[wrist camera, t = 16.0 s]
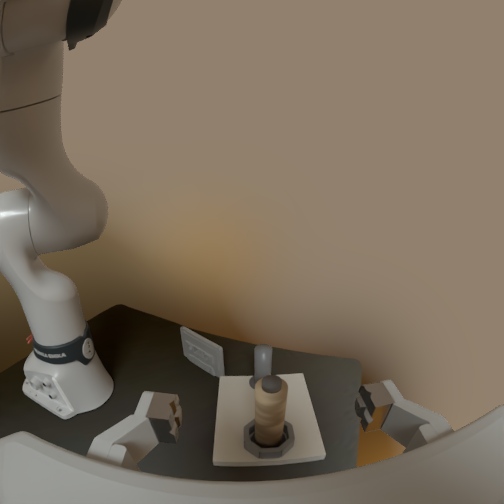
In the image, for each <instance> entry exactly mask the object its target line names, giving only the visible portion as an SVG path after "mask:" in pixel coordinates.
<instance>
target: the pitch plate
mask: <svg viewBox="0 0 504 504" xmlns="http://www.w3.org/2000/svg"><path fill="white" fill-rule="evenodd" d="M271 364H272V347H271V346H269V345H267V344H260V345H257V346H256V347H255V349H254V376H220V382H219V393H218V404H217V415H216V426H215V438H214V450H213V465H214V466H267V465H282V464H293V463H301V462H309V461H316V460H322V459H324V458H325V456H326V453H325V449H324V445H323V442H322V438H321V435H320V431H319V428H318V424H317V421H316V417H315V413H314V410H313V407H312V403H311V400H310V396H309V393H308V389H307V386H306V382H305V379H304V375H303V373H299V374H285V375H276V376H279V377H280V378H281V379H283V380H284V381H285V382H286V383H287V384H288V393H287V403H286V411H285V420H284V428H283V436H282V442H281V444H280V446H279V447H276V448H261V447H259V446H258V445H256V443H255V384H256V383H257V381H258V380H260V379H262V378H263V377H265V376H267V375H271Z"/></svg>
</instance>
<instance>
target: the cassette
mask: <svg viewBox="0 0 504 504" xmlns="http://www.w3.org/2000/svg"><path fill="white" fill-rule="evenodd" d="M180 331H181V337H182V344H183V350H184V355H185V356H186V357H187V358H189V359H188V360H190V361H191V362H193V363H194V364H196V365H197V366H199V367H200V368H202V369H203V370H205V371H207V372H208V373H210V374H211V375H213V376H217V377H219V378H220V376H225V373H224V361H223V348H222V347H221V346H219V345H217V344H215V343H213V342H211V341H209V340H208V339H206V338H204V337H202V336H200V335H198V334H197V333H195V332H193V331H191V330H190V329H188V328H186V327H184V326H183V327H181V328H180Z"/></svg>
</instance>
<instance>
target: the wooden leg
mask: <svg viewBox="0 0 504 504" xmlns="http://www.w3.org/2000/svg"><path fill="white" fill-rule="evenodd" d="M287 393H288V384H287V383H286V382H285V381H284V380H283V379H281V378H280V377H279V376H276V375H267V376H265V377H263V378H262V379H260V380H258V381H257V383H256V384H255V443H256V445H258V446H259V447H261V448H276V447H279V446H280V444H281V442H282V436H283V428H284V420H285V411H286V403H287Z"/></svg>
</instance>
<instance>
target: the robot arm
mask: <svg viewBox="0 0 504 504" xmlns="http://www.w3.org/2000/svg"><path fill="white" fill-rule="evenodd" d="M121 1H122V0H0V172H1V173H2V174H4V175H6V176H8V177H11V178H14V179H16V180H18V181H20V182H21V183H23V184H24V185H25V186H26V188H21V189H16V190H12V191H7V192H2V193H0V272H1V273H2V274H3V275H4V276H5V278H6V279H7V280H8V281H9V283H10V284H11V286H12V287H13V289H14V290H15V292H16V294H17V296H18V298H19V300H20V302H21V305H22V307H23V310H24V312H25V315H26V318H27V320H28V323H29V326H30V328H31V331H32V334H31V335H30V336H29V337H28V338H27V339H26V340H28V339H29V338H30V340H29V341H28V344H29V343H30V342H31V341H33V351H32V352H31V354H30V355H29V357H28V358H27V360H26V362H25V364H24V373H25V376H26V380H25V382H24V385H23V392H24V394H26V395H27V396H28V397H30V398H31V399H33V400H34V401H35V402H37V403H38V404H40V405H41V406H43V407H44V408H46V409H48V410H49V411H51V412H52V413H54V414H56V415H57V416H59V417H61V418H62V419H69V418H71V417H73V416H75V415H76V414H79V413H82V412H87V411H90V410H93V409H95V408H97V407H99V406H101V405H102V404H103V403H105V402H106V401H107V400H108V398H109V397H110V396H111V394H112V391H113V387H114V384H113V380H112V378H111V376H110V375H109V374H108V372H107V371H106V369H105V368H104V366H103V364H102V362H101V361H100V359H99V357H98V355H97V353H96V351H95V348H94V343H93V338H92V335H91V332H90V329H89V326H88V323H87V321H86V320H85V319H84V316H83V312H82V308H81V304H80V300H79V296H78V291H77V288H76V286H75V284H74V283H73V281H72V280H71V279H70V278H68V277H67V276H65V275H64V274H62V273H59V272H56V271H53V270H50V269H49V268H47V267H46V266H45V265H44V264H43V263H42V261H41V260H40V258H39V255H40V254H45V253H50V252H57V251H63V250H69V249H74V248H77V247H80V246H82V245H85V244H87V243H90V242H92V241H95V240H97V239H99V237H100V236H101V234H102V233H103V231H104V229H105V226H106V222H107V218H108V206H107V201H106V199H105V196H104V194H103V192H102V190H101V189H100V188H99V186H98V185H97V184H95V183H94V182H93V181H91V180H89V179H87V178H86V177H84V176H83V175H82V174H80V173H79V172H78V171H77V170H76V169H75V168H74V166H73V165H72V164H71V162H70V161H69V159H68V157H67V155H66V153H65V150H64V147H63V143H62V136H61V122H60V121H61V120H60V110H61V92H62V78H63V76H62V75H63V41H65V40H67V42H68V47H69V50H72V49H74V48H75V46H76V44H77V42H79V41H82V40H84V39H86V38H89V37H91V36H92V35H94V34H95V33H96V32H98V31H99V30H100V29H101V28H103V27H104V26H105V25H106V23H107V21H108V19H109V18H110V17H111V16H112V15H113V14H114V12H115V11H116V9H117V8H118V6H119V4H120V3H121ZM359 393H360V395H359V396H358V397H357V398H356V401H355V410H356V414H357V416H358V417H360V418H362V420H361V422H360V423H361V425H362V427H363V430H364V432H369V431H374V430H378V429H381V430H382V431H383V432H385V433H386V434H388V435H389V436H390V437H392V438H393V439H395V440H396V441H397V442H399V443H400V444H402V445H403V446H405V447H406V449H405V450H404V452H403V453H402V454H400V455H398V456H395V457H392V458H388V459H385V460H382V461H379V462H375V463H372V464H368V465H364V466H360V467H356V468H352V469H348V470H343V471H339V472H334V473H329V474H323V475H317V476H310V477H303V478H295V479H285V480H273V481H253V482H225V481H205V480H193V479H183V478H175V477H168V476H161V475H155V474H150V473H145V472H141V471H140V469H139V468H138V466H137V465H136V464H137V463H138V462H139V461H140V460H141V459H142V458H143V457H145V456H146V455H147V454H148V453H149V452H150V451H151V450H152V449H153V448H154V447H155V446H156V445H157V444H158V443H159V442H163V443H173V444H177V442H178V438H179V430H178V428H179V427H180V426H181V423H182V410H181V407H180V406H179V405H178V403H179V398H178V395H175V394H166V393H158V392H150V391H144V392H143V394H142V396H141V399H140V401H139V403H138V406H137V408H136V411H135V413H134V415H130V416H128V417H127V418H125V419H124V420H122V421H121V422H119V423H118V424H116V425H114V426H113V427H111V428H110V429H108V430H106V431H105V432H103V433H102V434H100V435H98V436H97V437H95V438H94V440H93V442H92V445H91V447H90V449H89V451H88V453H87V455H86V457H85V456H82V455H79V454H76V453H74V452H71V451H68V450H66V449H63V448H61V447H59V446H56V445H54V444H51V443H49V442H47V441H45V440H43V439H40V438H38V437H36V436H34V435H32V434H30V433H28V432H25V431H21V432H17V433H14V434H12V435H9V436H6V437H4V438H1V439H0V504H504V405H500V406H498V407H496V408H495V409H493V410H492V411H490V412H488V413H487V414H485V415H483V416H482V417H480V418H478V419H477V420H475V421H473V422H471V423H470V424H468V425H466V426H464V427H462V428H460V429H458V430H457V431H453V429H452V428H451V426H450V425H449V423H448V422H447V421H446V419H445V418H444V416H442V415H440V414H437V413H435V412H433V411H431V410H428V409H426V408H424V407H422V406H420V405H417V404H415V403H413V402H411V401H409V400H404V398H403V397H402V395H401V394H400V392H399V391H398V389H397V388H396V386H395V385H394V383H393V382H392V380H390V379H389V380H385V381H381V382H376V383H371V384H366V385H362V386H361V387H360V389H359Z"/></svg>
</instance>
